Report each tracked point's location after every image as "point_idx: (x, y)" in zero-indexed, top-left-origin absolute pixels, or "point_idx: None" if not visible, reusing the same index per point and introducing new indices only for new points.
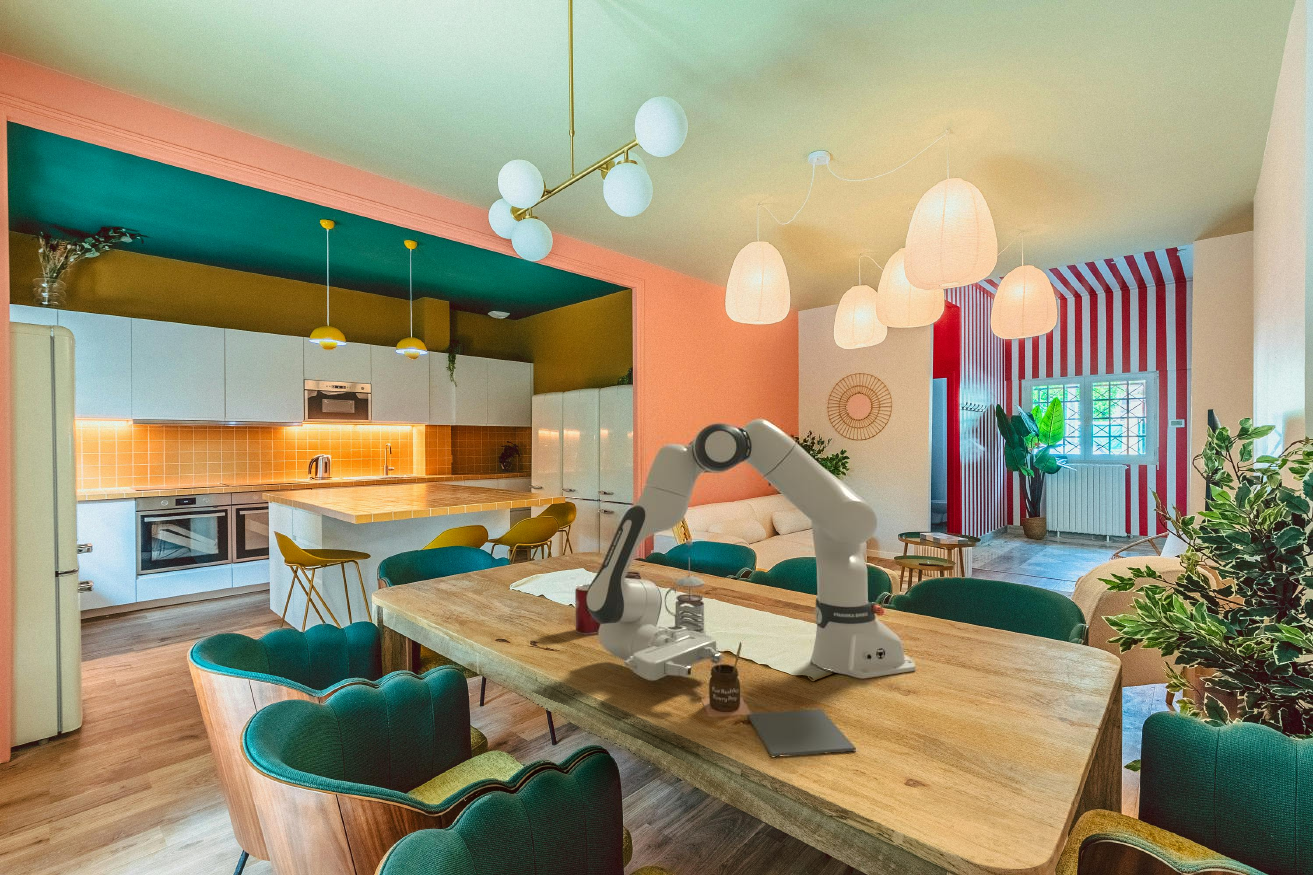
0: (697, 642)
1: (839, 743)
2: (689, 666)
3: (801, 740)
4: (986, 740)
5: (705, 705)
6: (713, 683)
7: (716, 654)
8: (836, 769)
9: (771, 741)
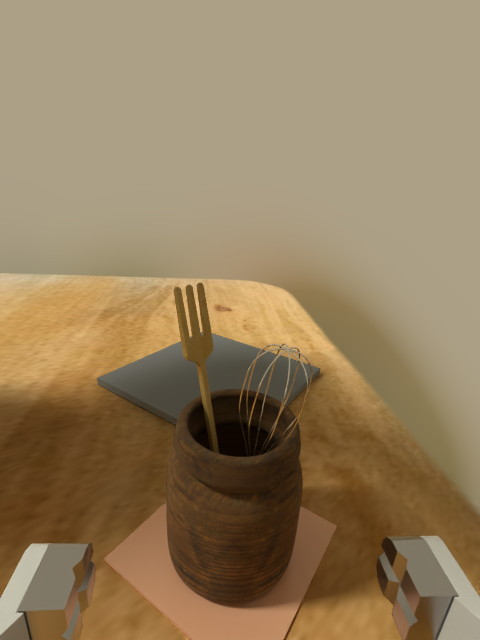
0: None
1: None
2: (395, 538)
3: (246, 361)
4: (79, 295)
5: (292, 605)
6: (300, 469)
7: (68, 554)
8: (264, 336)
9: (291, 380)
